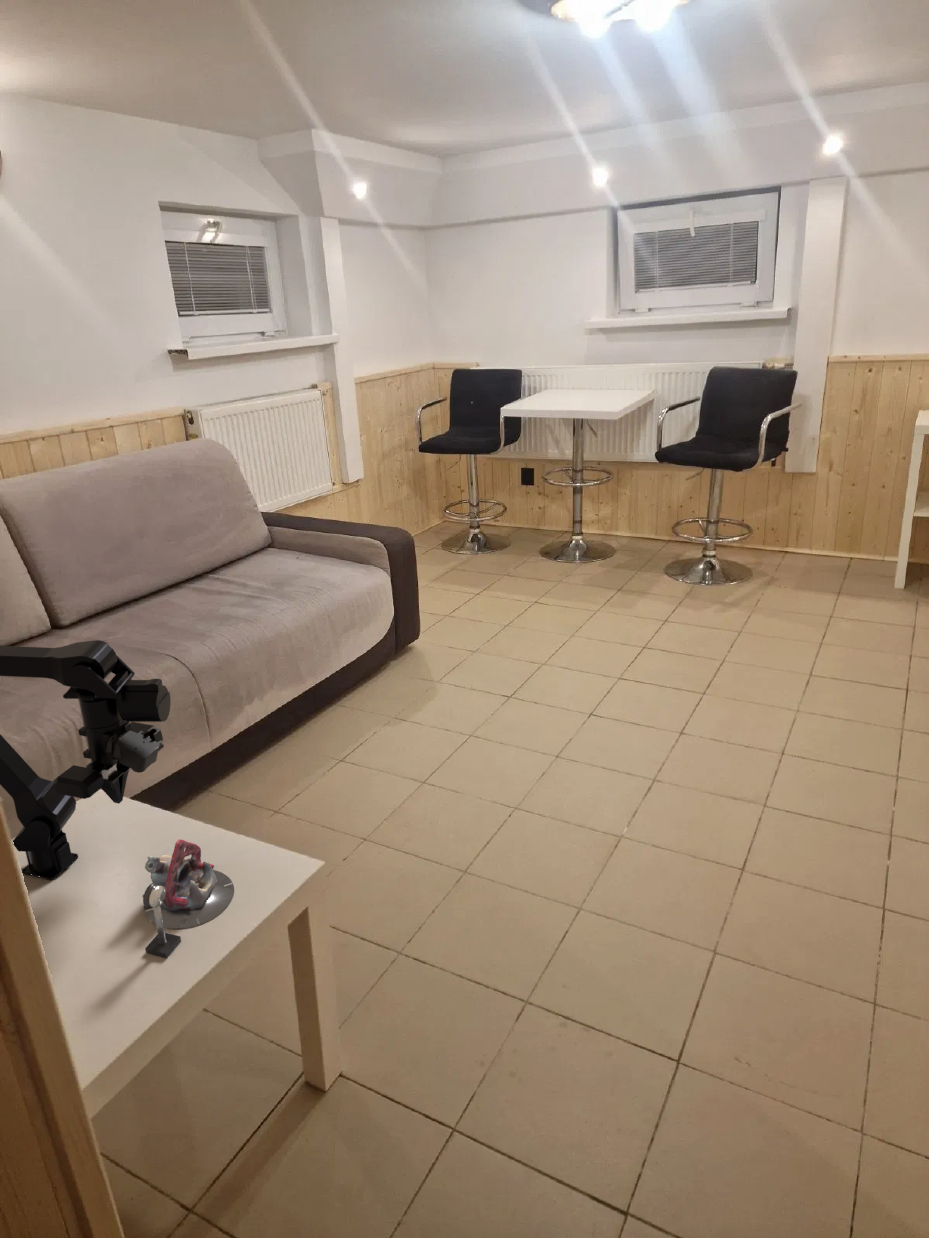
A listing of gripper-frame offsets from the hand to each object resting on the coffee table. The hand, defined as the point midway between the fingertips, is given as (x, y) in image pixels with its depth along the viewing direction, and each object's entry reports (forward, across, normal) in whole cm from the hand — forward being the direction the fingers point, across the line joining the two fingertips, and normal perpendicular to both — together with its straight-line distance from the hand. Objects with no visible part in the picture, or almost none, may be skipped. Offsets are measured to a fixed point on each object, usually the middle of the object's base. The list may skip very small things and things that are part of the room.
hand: (118, 801), depth 136 cm
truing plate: (+13, -4, -14) cm, 20 cm away
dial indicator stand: (+13, -14, -17) cm, 26 cm away
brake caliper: (+13, -4, -13) cm, 19 cm away
